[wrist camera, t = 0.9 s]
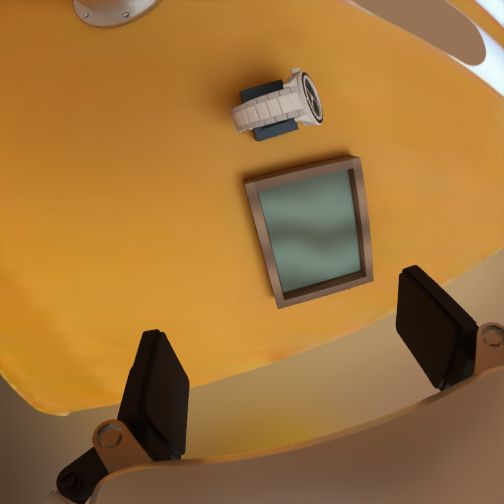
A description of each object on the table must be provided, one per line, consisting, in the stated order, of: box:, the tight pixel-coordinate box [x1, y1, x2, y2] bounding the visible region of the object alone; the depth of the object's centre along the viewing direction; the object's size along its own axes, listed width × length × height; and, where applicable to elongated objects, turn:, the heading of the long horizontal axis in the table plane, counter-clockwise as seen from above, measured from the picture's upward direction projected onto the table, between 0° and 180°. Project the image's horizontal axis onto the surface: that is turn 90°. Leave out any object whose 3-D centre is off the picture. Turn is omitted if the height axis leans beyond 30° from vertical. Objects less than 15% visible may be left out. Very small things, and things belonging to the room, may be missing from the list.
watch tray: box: [243, 155, 374, 309], centre depth 35 cm, size 16×13×3 cm
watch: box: [230, 68, 323, 142], centre depth 25 cm, size 6×8×11 cm
